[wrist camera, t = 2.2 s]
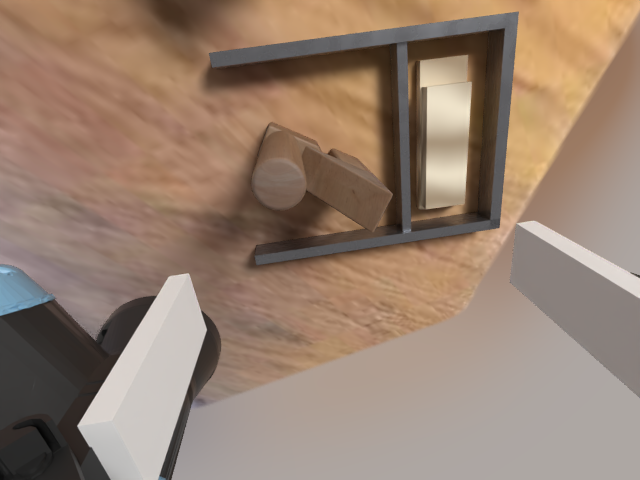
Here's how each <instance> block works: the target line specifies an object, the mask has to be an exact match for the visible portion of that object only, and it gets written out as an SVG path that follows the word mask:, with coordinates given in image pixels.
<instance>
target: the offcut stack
mask: <svg viewBox="0 0 640 480" xmlns="http://www.w3.org/2000/svg"><path fill="white" fill-rule="evenodd" d="M467 68H468V55H462V56H454V57H446V58H438V59H429V60H421V61H417V149H416V207H417V208H418V209H419V210H420V209H432V208H440V207H447V206H454V205H461V204H465V190H466V173H467V156H468V139H469V122H470V105H471V89H472V82H467Z"/></svg>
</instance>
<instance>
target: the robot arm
mask: <svg viewBox="0 0 640 480" xmlns="http://www.w3.org/2000/svg"><path fill="white" fill-rule="evenodd" d="M510 283H511V284H512V285H513V286H514V287H516V288H517V289H518V290H519V291H520V292H521V293H522V294H523V295H525V296H526V297H527V298H528V299H529V300H530V301H531V302H533V303H534V304H535V305H536V306H537V307H538V308H539V309H540V310H541V311H543V312H544V313H545V314H546V315H547V316H549V318H550V319H552V320H553V321H554V322H555V323H556V324H557V325H558V326H560V327H561V328H562V329H563V330H564V331H565V332H566V333H567V334H569V335H570V336H571V337H572V338H573V339H574V340H575V341H576V342H577V343H579V344H580V345H581V346H582V347H583V348H584V349H585V350H586V351H588V352H589V353H590V354H591V355H592V356H593V357H594V358H595V359H597V360H598V361H599V362H600V363H601V364H602V365H603V366H604V367H606V368H607V369H608V370H609V371H610V372H611V373H612V374H613V375H615V376H616V377H617V378H618V379H619V380H620V381H621V382H622V383H624V384H625V385H626V386H627V387H628V388H629V389H630V390H631V391H633V392H634V393H635V394H636V395H637V396H638V397H639V398H640V275H637V274H634V273H629V272H627V271H626V270H624V269H622V268H620V267H618V266H616V265H615V264H613V263H611V262H609V261H607V260H606V259H604V258H602V257H600V256H598V255H596V254H595V253H593V252H591V251H589V250H587V249H586V248H584V247H582V246H580V245H578V244H576V243H575V242H573V241H571V240H569V239H567V238H565V237H564V236H562V235H560V234H558V233H556V232H554V231H553V230H551V229H549V228H547V227H546V226H544V225H542V224H540V223H538V222H536V221H529V222H523V223H516V230H515V239H514V249H513V258H512V267H511V276H510ZM220 351H221V340H220V335H219V332H218V330H217V328H216V326H215V325H214V323H213V322H212V320H211V319H210V318H209V317H208V316H207V315H206V314H205V313H204V312H202V311H201V310H200V307H199V303H198V300H197V297H196V294H195V291H194V288H193V285H192V282H191V279H190V275H189V273H188V274H181V275H175V276H169V277H168V279H167V281H166V282H165V284H164V286H163V287H162V289H161V291H160V292H159V294H158V295H157V296H149V297H143V298H138V299H135V300H132V301H130V302H127V303H125V304H124V305H122V306H121V307H119V308H118V309H117V310H115V311H114V312H113V314H112V315H111V316H110V317H109V319H108V320H107V321H106V323H105V324H104V325H103V327H102V328H101V330H100V332H99V335H98V337H97V341H95V340H94V339H93V338H92V337H91V336H90V335H89V334H88V333H87V332H86V331H85V330H84V329H83V328H82V327H81V326H80V325H79V324H78V323H77V322H76V321H75V320H74V319H73V318H72V317H71V316H70V315H69V314H68V313H67V312H66V311H65V310H64V309H63V308H62V307H61V306H60V305H59V304H58V303H57V301H56V300H55V296H54V295H52V294H48V293H47V292H46V291H45V290H44V289H43V288H41V287H40V286H39V285H38V284H37V283H36V282H35V281H33V280H32V279H31V278H30V277H29V276H28V275H27V274H26V273H25V272H23V271H22V270H21V269H19V268H17V267H14V266H11V265H5V264H0V480H171V478H172V475H173V471H174V467H175V464H176V460H177V456H178V452H179V449H180V445H181V441H182V438H183V434H184V430H185V427H186V423H187V419H188V416H189V412H190V408H191V405H192V402H193V400H194V399H195V397H196V396H197V395H198V393H199V392H200V391H201V389H202V388H203V386H204V385H205V384H206V382H207V381H208V380H209V379H210V378H211V376H212V375H213V373H214V371H215V369H216V367H217V364H218V360H219V356H220Z"/></svg>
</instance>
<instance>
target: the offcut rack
mask: <svg viewBox="0 0 640 480" xmlns="http://www.w3.org/2000/svg"><path fill="white" fill-rule="evenodd" d="M518 14H519V12H512V13H505V14H497V15H490V16H482V17H475V18H467V19H460V20H452V21H445V22H437V23H430V24H422V25H415V26H407V27H400V28H393V29H385V30H378V31H370V32H363V33H355V34H348V35H340V36H333V37H325V38H318V39H310V40H303V41H295V42H288V43H280V44H273V45H265V46H258V47H250V48H243V49H235V50H228V51H220V52H213V53H209V56H210V60H211V65H212V68H216V69H221V68H229V67H236V66H243V65H251V64H258V63H266V62H273V61H280V60H288V59H295V58H303V57H310V56H318V55H325V54H332V53H340V52H347V51H355V50H362V49H369V48H377V47H384V46H390V65H391V90H392V116H393V142H394V167H395V193H396V219H397V224H394V225H387V226H380V227H376V229H375V231H374V232H370V231H369V230H367V229H360V230H354V231H347V232H341V233H334V234H327V235H321V236H314V237H308V238H301V239H294V240H288V241H281V242H275V243H268V244H261V245H256V251H255V260H256V265H261V264H268V263H274V262H281V261H287V260H294V259H300V258H307V257H313V256H320V255H326V254H333V253H339V252H346V251H352V250H359V249H366V248H372V247H379V246H385V245H392V244H398V243H405V242H411V241H418V240H424V239H431V238H437V237H444V236H450V235H457V234H463V233H470V232H476V231H483V230H490V229H496V228H499V227H500V216H501V204H502V193H503V182H504V171H505V160H506V149H507V137H508V126H509V115H510V104H511V93H512V81H513V70H514V59H515V48H516V37H517V25H518ZM488 32H489V33H488ZM480 33H488V49H487V65H486V82H485V98H484V115H483V131H482V148H481V164H480V181H479V197H478V212H473V213H466V214H460V215H453V216H446V217H440V218H433V219H427V220H420V221H413V222H411V199H410V152H409V105H408V58H407V43H414V42H421V41H429V40H436V39H443V38H451V37H458V36H466V35H473V34H480Z"/></svg>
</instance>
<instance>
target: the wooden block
mask: <svg viewBox="0 0 640 480" xmlns="http://www.w3.org/2000/svg"><path fill="white" fill-rule="evenodd" d="M251 187H252V192H253V194H254V196H255V198H256V199H257V200H258V201H259V202H260V203H261V204H262V205H263V206H265V207H267V208H269V209H272V210H277V211H281V210H288V209H290V208H292V207H295V206H296V205H297V204H298V203H299V202H300V201H301V200H302V198H303V197H304V195H305V192H306V190H307V191H308V192H310V193H311V194H313V195H314V196H316V197H317V198H319V199H321V200H322V201H324V202H325V203H327V204H328V205H330V206H331V207H333V208H335V209H336V210H338V211H339V212H341V213H342V214H344V215H345V216H347V217H348V218H350V219H352V220H353V221H355V222H356V223H358V224H359V225H361V226H362V227H364V228H366V229H367V230H369V231H370V232H374V231H375V229H376V227H377V225H378V223H379V221H380V220H381V218H382V216H383V214H384V212H385V210H386V208H387V206H388V204H389V202H390V200H391V198H392V196H393V194H392V193H391V192H390V191H389V190H388V189H387V188H386V187H385V186H384V185H383V184H382V183H381V182H380V181H379V179H378V178H377V177H376V176H375V175H374V174H373V173H371V172H370V171H369V170H368V169H367V168H366V167H365V166H364V165H363V164H362V163H361V162H360V161H359V160H358V159H357V158H355V157H353V156H350V155H348V154H346V153H343V152H341V151H338V150H336V149H331V150H330V152H329V155H328V154H325V153H323V152H321V149H320V147H319V145H318V143H317V142H316V141H315V140H313V139H310V138H308V137H306V136H303V135H301V134H299V133H296V132H294V131H292V130H289V129H287V128H285V127H282V126H280V125H278V124H275V123H273V122H270V123H269V125H268V128H267V130H266V133H265V136H264V139H263V142H262V145H261V147H260V150H259V153H258V160H257V163H256V166H255V168H254V171H253V174H252V179H251Z"/></svg>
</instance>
